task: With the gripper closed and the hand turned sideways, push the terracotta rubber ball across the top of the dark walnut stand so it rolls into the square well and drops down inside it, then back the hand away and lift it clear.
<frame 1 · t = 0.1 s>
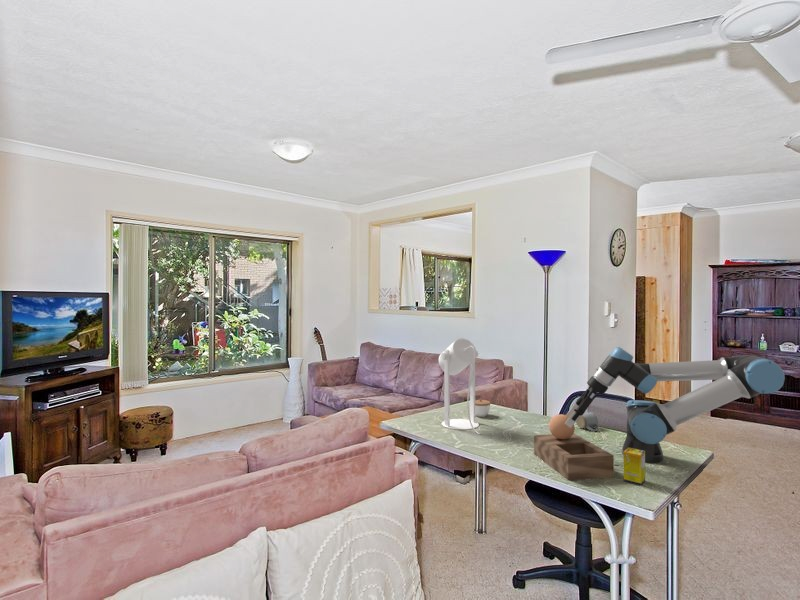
hand: (568, 421, 192), 15 cm above the table, tool tilted 35°, fingers open, 13 cm apart
walnut stand: (569, 463, 185), on the table
desk lamp: (463, 426, 239), on the table
supplement box: (634, 481, 168), on the table
ceramic mug: (588, 429, 234), on the table
ball: (561, 426, 192), point 13 cm above the table, touching walnut stand
lidded jar: (480, 415, 260), on the table
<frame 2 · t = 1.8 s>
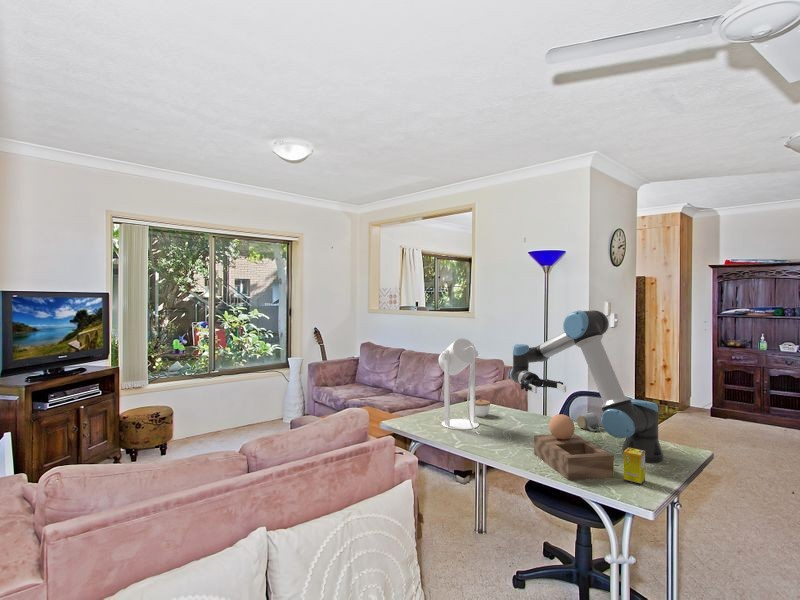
hand: (550, 389, 201), 26 cm above the table, tool horizontal, fingers open, 13 cm apart
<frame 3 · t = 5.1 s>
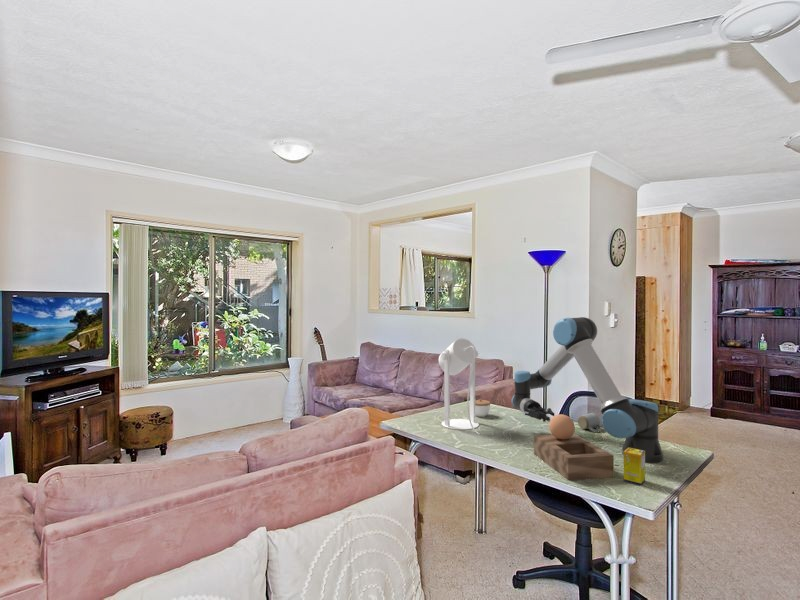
hand: (554, 421, 197), 14 cm above the table, tool horizontal, fingers closed
ball: (561, 426, 191), point 13 cm above the table, touching gripper, walnut stand
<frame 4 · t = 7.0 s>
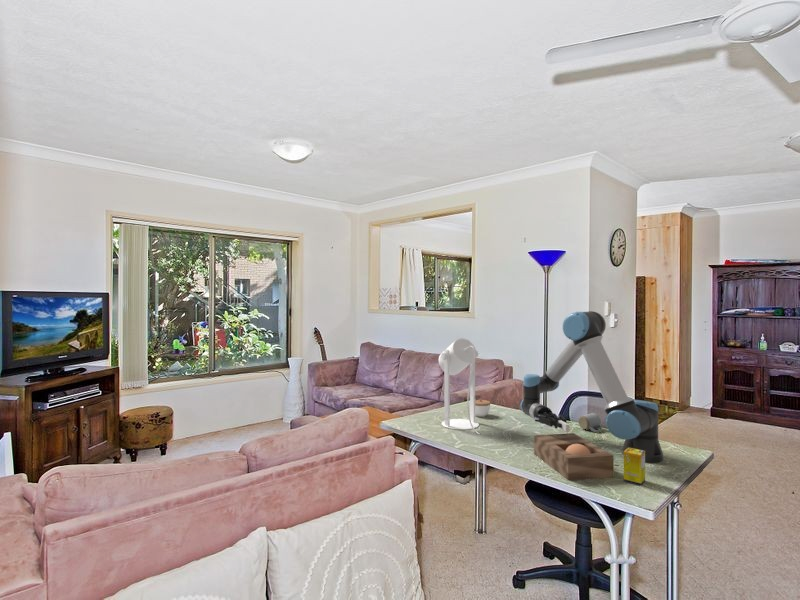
hand: (567, 428, 186), 14 cm above the table, tool horizontal, fingers closed
ball: (578, 457, 178), point 5 cm above the table, tilted 149°
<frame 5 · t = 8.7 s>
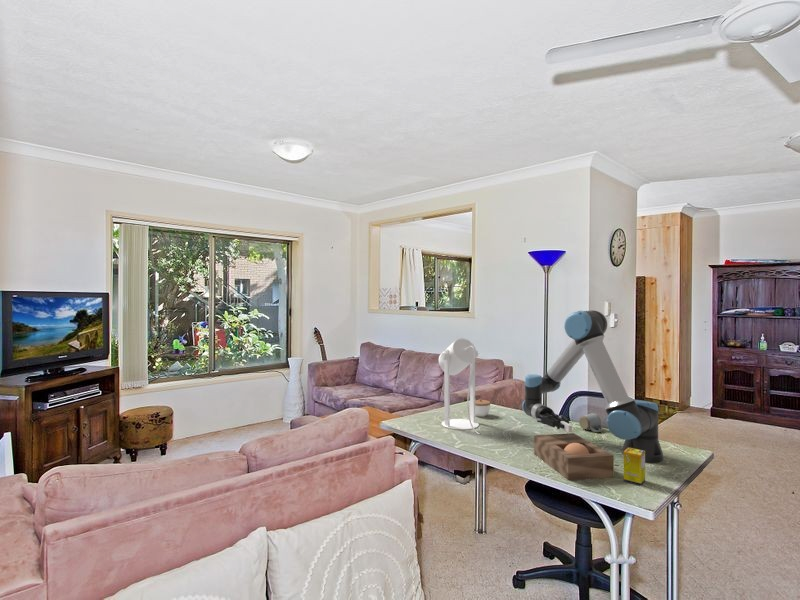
hand: (570, 428, 185), 14 cm above the table, tool horizontal, fingers closed
ball: (576, 456, 180), point 5 cm above the table, tilted 163°
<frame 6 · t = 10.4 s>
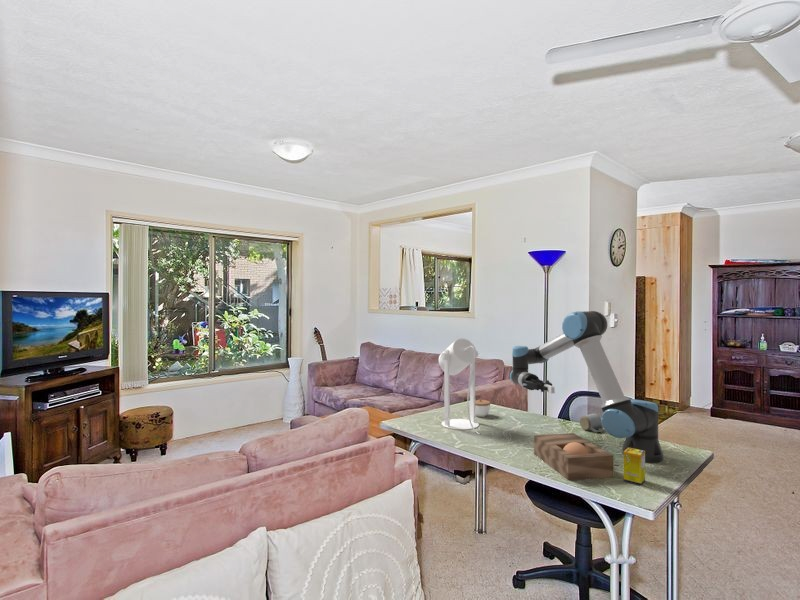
hand: (552, 390, 198), 27 cm above the table, tool horizontal, fingers closed
ball: (575, 455, 180), point 5 cm above the table, tilted 170°
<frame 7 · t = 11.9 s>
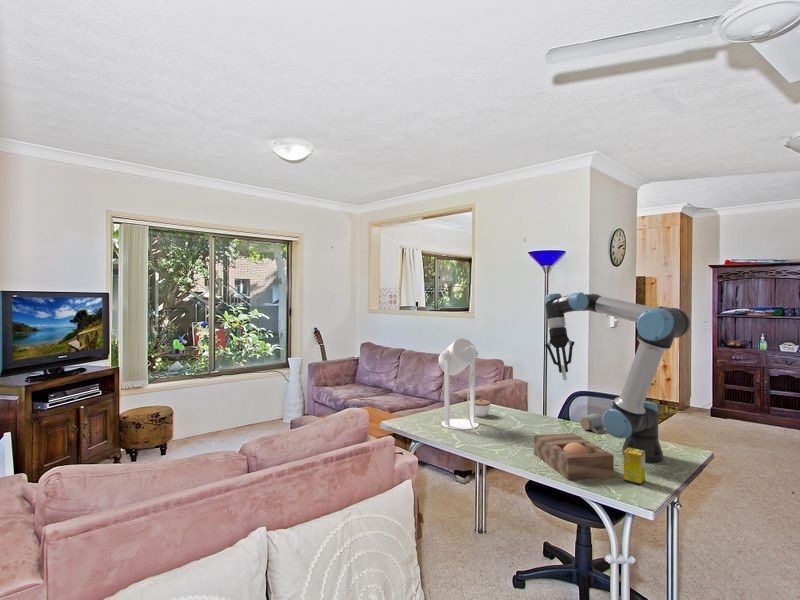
hand: (564, 379, 208), 29 cm above the table, tool pointing down, fingers closed
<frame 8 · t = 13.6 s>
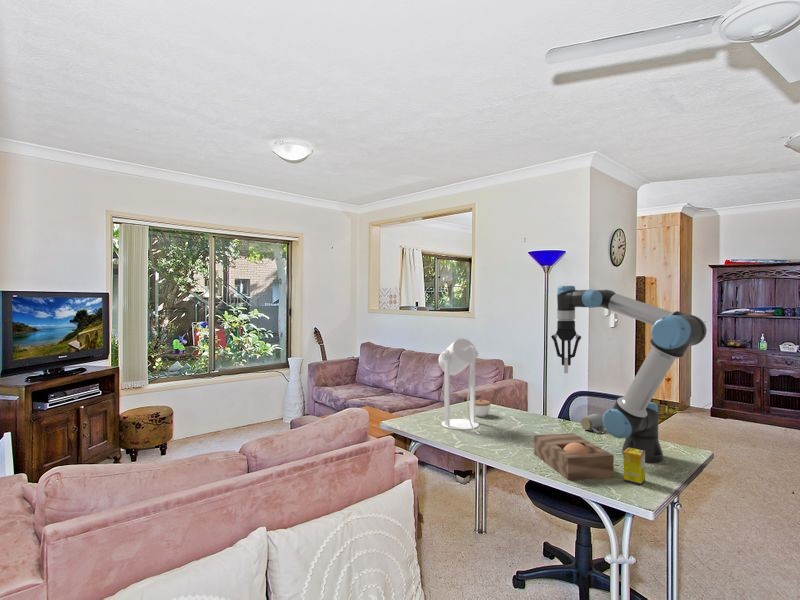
hand: (566, 372, 209), 32 cm above the table, tool pointing down, fingers closed
at the end: ball inside the target area (1.0 cm from its centre), point 5.0 cm above the table; the gripper is holding nothing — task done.
